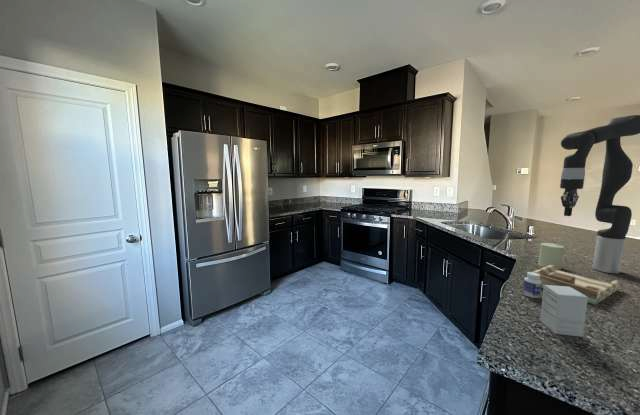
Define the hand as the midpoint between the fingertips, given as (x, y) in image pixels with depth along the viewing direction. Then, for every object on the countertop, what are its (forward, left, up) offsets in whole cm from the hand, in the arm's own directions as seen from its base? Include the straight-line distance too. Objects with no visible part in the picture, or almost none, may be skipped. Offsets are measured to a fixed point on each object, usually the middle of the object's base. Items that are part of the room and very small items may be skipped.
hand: (567, 215), depth 117 cm
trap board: (+11, +7, -29) cm, 32 cm away
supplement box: (+55, +18, -29) cm, 65 cm away
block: (+19, +7, -27) cm, 34 cm away
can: (-12, -8, -29) cm, 33 cm away
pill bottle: (+36, +3, -29) cm, 46 cm away
